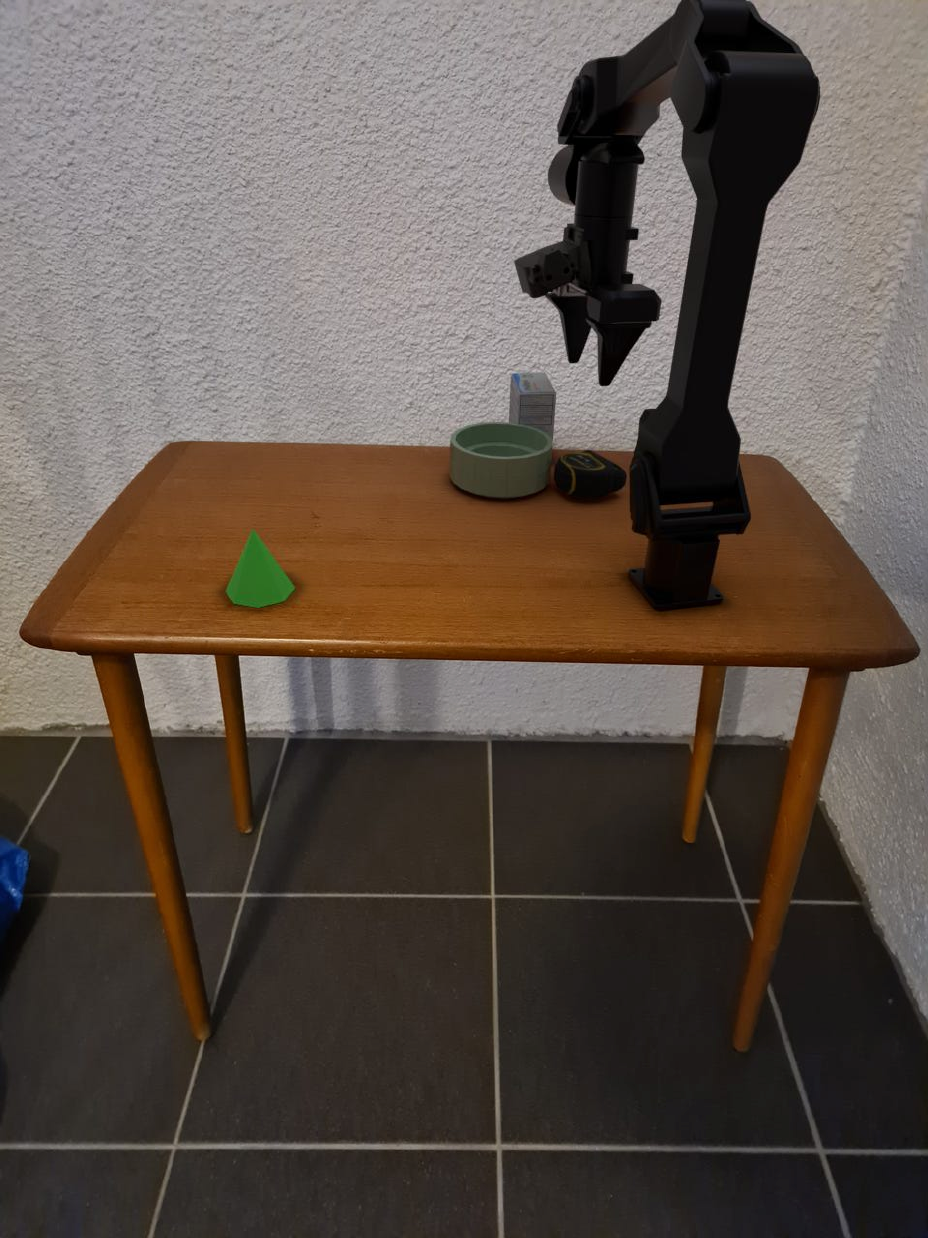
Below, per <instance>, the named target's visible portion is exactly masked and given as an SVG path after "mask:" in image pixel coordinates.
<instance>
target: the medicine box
mask: <svg viewBox="0 0 928 1238" xmlns="http://www.w3.org/2000/svg"><path fill="white" fill-rule="evenodd" d="M510 375H511V376H510V385H509V389H510V390H509V408H508V422H510V423H517V424H523V425H528V426H531V427H534V428H538V429H540V430H542V431H544V432H546V433H547V434H548V435H549V436H550V437H551V438H552V439H553V440H554V433H555V432H554V431H555V416H556V403H557V392H556V390H555V388H554V386H553V385H552V382H551V380H550V379H549V377H548V375H547V373H546V372H532V371H531V372H514V373H513V372H512V373H511V374H510Z"/></svg>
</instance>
